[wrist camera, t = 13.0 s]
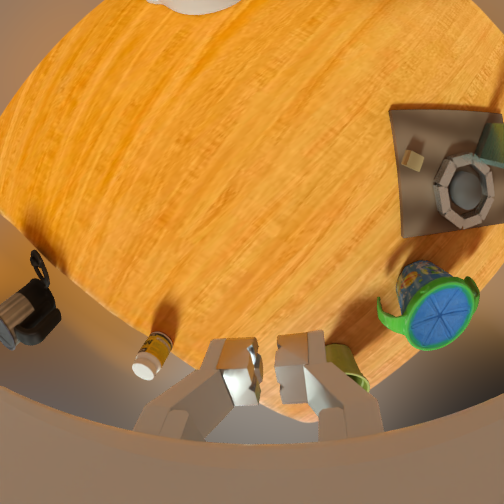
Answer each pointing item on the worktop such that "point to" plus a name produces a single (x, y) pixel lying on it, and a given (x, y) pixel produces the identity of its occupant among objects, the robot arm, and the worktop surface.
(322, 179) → the worktop surface
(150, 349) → the supplement bottle
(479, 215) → the ring with upright panel
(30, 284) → the milk frother
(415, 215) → the base
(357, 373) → the plant pot
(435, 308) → the snack cup
